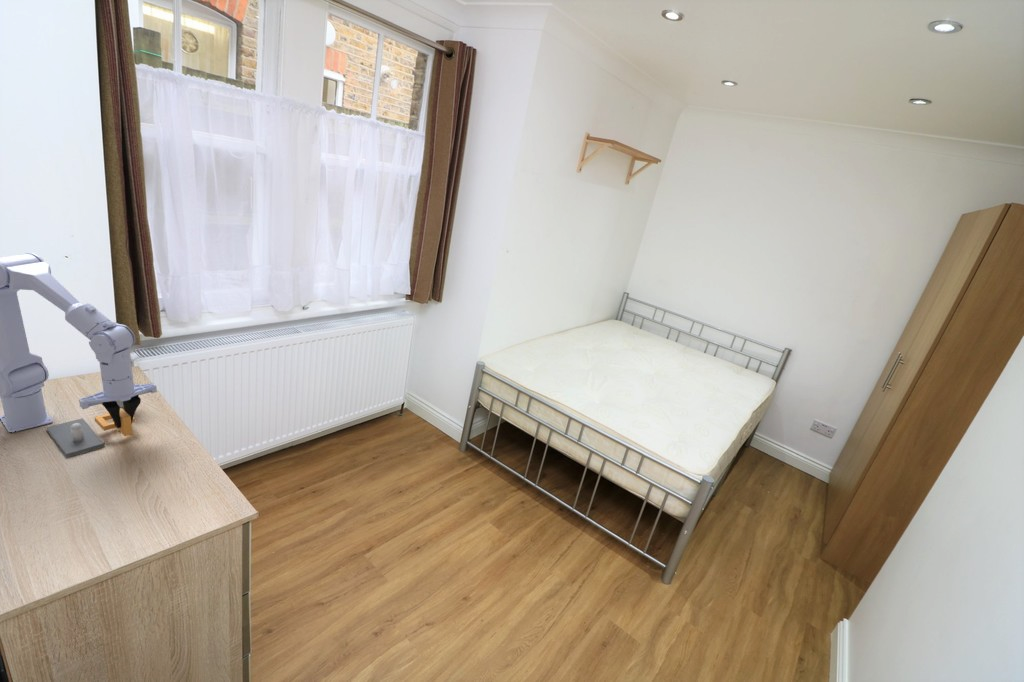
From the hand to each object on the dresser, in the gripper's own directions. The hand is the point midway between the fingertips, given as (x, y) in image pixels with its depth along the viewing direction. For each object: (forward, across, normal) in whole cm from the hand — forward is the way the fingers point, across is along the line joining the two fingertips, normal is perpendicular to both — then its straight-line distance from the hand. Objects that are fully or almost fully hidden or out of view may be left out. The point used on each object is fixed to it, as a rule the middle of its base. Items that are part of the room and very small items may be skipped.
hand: (123, 424), depth 117 cm
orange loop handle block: (+2, 0, +3) cm, 4 cm away
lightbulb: (+6, +4, +15) cm, 17 cm away
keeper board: (+5, -8, +8) cm, 12 cm away
